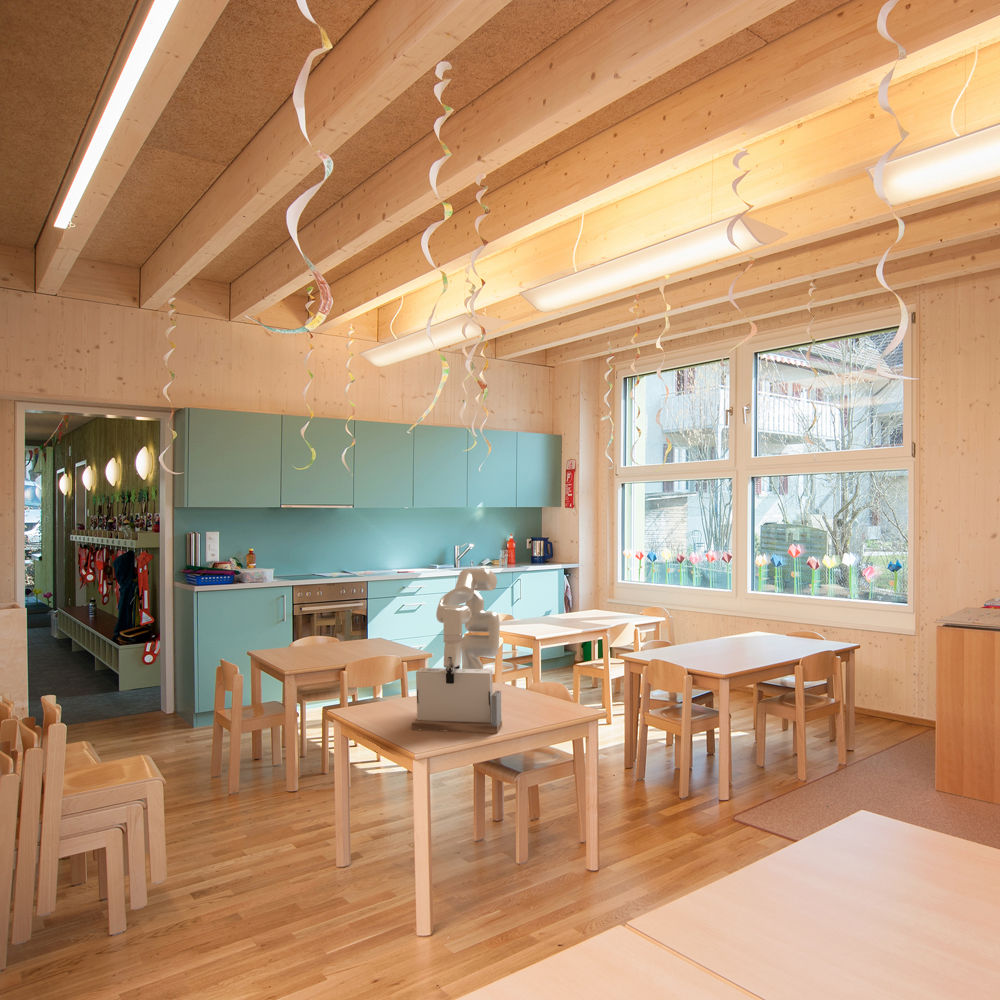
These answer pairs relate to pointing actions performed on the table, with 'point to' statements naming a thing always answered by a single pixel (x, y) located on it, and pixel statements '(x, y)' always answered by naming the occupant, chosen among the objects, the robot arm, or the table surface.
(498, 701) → the bookend
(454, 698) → the packaging
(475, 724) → the shelf
